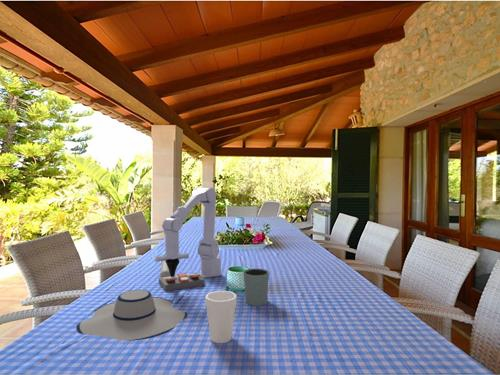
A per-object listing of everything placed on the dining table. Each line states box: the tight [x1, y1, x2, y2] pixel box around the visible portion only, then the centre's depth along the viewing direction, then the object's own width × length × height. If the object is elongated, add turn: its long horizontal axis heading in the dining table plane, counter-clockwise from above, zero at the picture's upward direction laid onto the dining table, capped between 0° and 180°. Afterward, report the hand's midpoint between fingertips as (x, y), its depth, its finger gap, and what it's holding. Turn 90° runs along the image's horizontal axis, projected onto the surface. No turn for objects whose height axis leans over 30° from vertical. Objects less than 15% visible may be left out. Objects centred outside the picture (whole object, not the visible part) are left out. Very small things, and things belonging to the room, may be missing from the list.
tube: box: [159, 261, 170, 278], centre depth 175 cm, size 5×5×25 cm
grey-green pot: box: [243, 268, 270, 307], centre depth 135 cm, size 10×10×12 cm
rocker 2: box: [189, 273, 202, 277], centre depth 157 cm, size 4×6×1 cm, turn 27°
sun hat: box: [76, 289, 188, 342], centre depth 119 cm, size 36×36×9 cm
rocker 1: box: [176, 272, 189, 282], centre depth 154 cm, size 4×6×1 cm, turn 27°
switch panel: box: [158, 272, 206, 292], centre depth 157 cm, size 18×12×3 cm, turn 117°
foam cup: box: [205, 290, 237, 344], centre depth 104 cm, size 10×9×13 cm
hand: (172, 276), depth 150 cm, fingers closed
